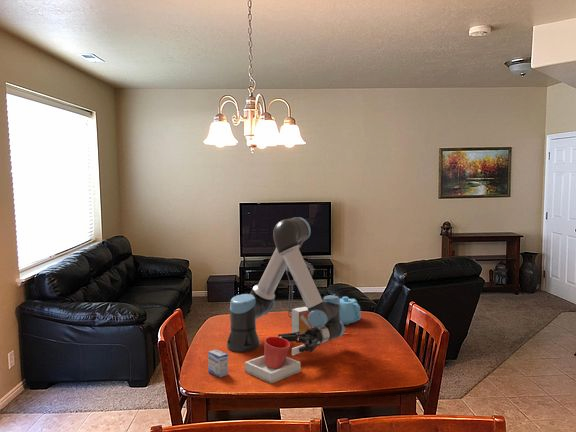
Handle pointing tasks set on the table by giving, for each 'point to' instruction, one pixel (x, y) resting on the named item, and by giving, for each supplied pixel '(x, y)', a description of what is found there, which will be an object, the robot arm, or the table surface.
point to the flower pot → (275, 351)
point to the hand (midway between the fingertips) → (280, 347)
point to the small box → (300, 320)
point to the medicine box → (218, 363)
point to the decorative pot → (349, 310)
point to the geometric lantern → (295, 284)
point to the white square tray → (272, 369)
